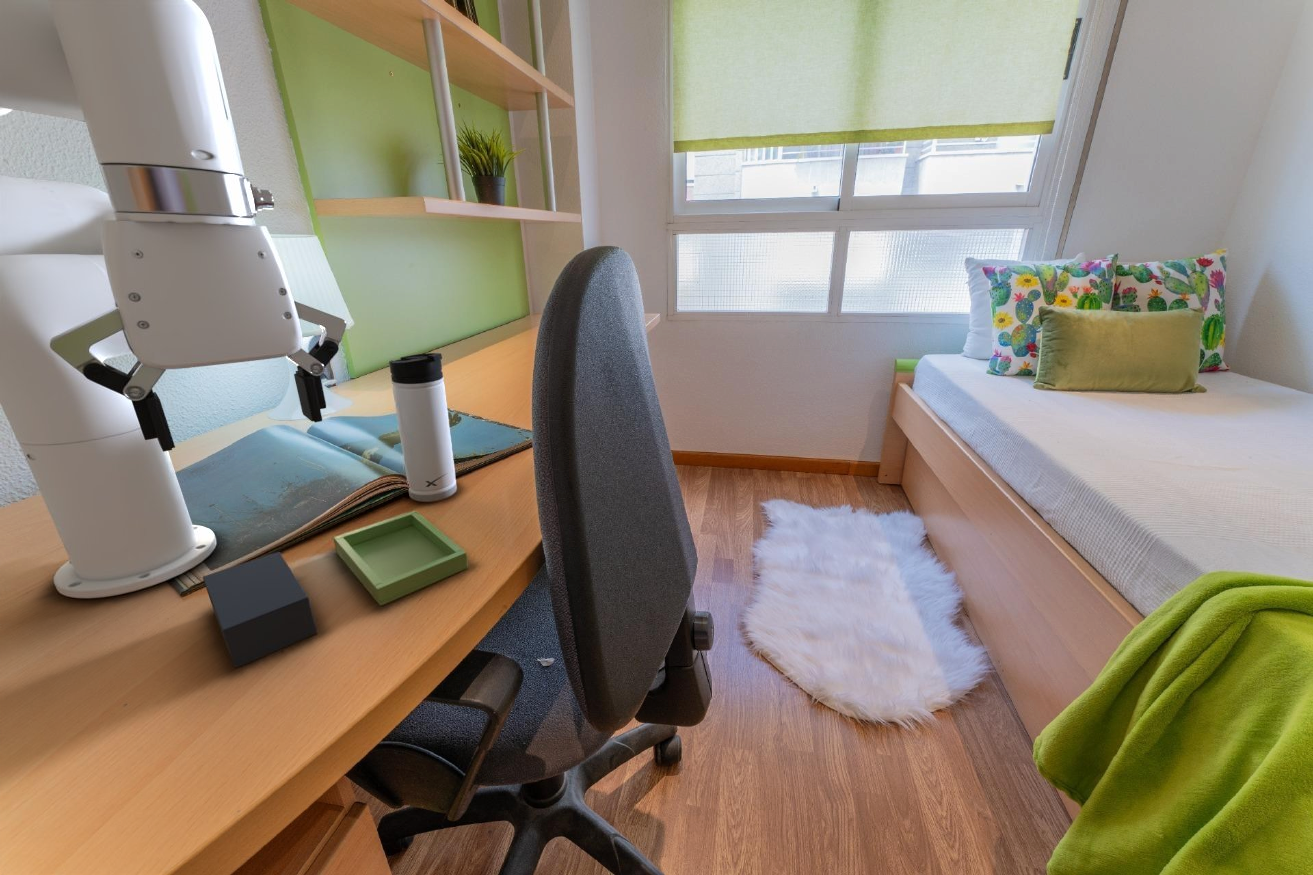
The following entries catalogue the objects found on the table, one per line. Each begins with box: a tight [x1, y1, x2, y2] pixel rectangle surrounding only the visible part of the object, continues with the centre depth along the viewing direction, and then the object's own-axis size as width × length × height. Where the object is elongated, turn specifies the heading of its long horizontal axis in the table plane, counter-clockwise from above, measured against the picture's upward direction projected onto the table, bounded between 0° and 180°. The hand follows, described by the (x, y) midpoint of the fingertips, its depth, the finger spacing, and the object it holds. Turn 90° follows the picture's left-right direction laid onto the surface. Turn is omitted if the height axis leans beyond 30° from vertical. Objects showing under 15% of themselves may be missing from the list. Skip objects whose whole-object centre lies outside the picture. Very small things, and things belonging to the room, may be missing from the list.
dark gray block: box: [202, 551, 318, 669], centre depth 48 cm, size 10×6×4 cm, turn 46°
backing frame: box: [332, 510, 469, 607], centre depth 58 cm, size 13×9×2 cm
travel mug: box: [388, 352, 458, 503], centre depth 70 cm, size 6×7×20 cm
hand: (245, 431), depth 42 cm, fingers open, 9 cm apart
